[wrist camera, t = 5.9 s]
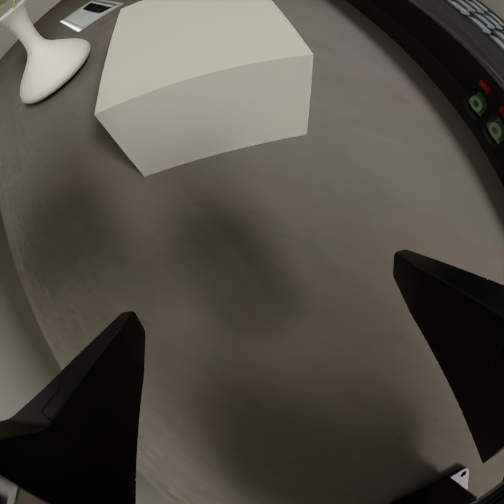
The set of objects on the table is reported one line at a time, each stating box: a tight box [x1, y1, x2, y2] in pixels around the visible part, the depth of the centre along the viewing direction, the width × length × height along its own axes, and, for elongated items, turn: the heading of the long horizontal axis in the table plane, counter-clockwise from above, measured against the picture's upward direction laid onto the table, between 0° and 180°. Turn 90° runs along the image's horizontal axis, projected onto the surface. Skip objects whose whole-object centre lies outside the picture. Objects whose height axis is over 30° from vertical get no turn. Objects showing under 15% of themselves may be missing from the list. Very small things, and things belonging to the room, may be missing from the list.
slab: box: [95, 0, 313, 176], centre depth 18 cm, size 16×12×8 cm
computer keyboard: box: [346, 0, 504, 186], centre depth 18 cm, size 45×28×7 cm, turn 17°
